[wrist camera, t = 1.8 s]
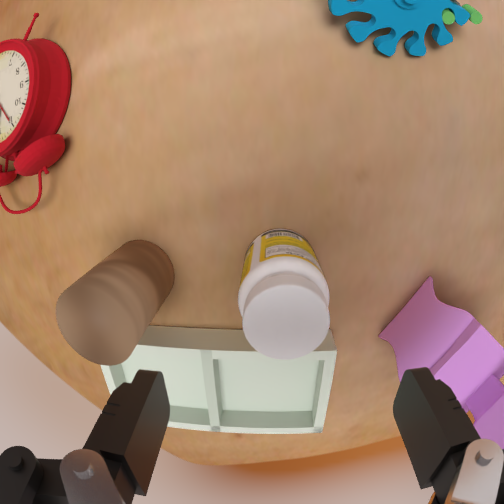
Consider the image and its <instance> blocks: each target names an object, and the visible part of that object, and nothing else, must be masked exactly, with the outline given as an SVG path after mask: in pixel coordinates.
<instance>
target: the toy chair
mask: <svg viewBox="0 0 504 504" xmlns="http://www.w3.org/2000/svg"><path fill="white" fill-rule="evenodd" d="M378 337H380V338H381V339H384V340H386V341H388V342H389V343H390V344H391V345H392V347H393V349H394V352H395V355H396V361H397V368H398V376H399V380H400V383H401V380H402V377H403V374H404V372H405V370H407V369H414V368H422V367H427V368H429V370H430V371H431V373H432V374H433V376H434V378H435V379H436V380H438V379H440V380H441V381H443V382H444V383H445V384H446V385H448V386H449V387H450V388H451V389H452V391H453V393H454V394H455V396H456V397H457V400H458V401H459V402H460V404H461V406H462V408H463V409H464V410H465V412H466V413H467V412H468V411H469V410H470V411H471V413H472V414H473V416H474V419H475V422H474V425H473V426H474V427H475V429H476V431H477V432H478V434H479V436H480V438H481V439H489V440H492V441H494V442H495V443H497V444H498V445H499V446H500V447H501V449H504V385H503V384H502V383H501V381H500V380H499V379H500V378H501V377H502V376H503V375H504V348H503V347H502V346H501V345H500V344H499V343H498V342H497V341H496V340H495V339H494V338H493V336H492V335H491V334H490V333H489V332H488V331H487V330H486V329H485V328H484V327H483V326H482V325H481V324H480V323H479V322H478V321H477V320H476V319H475V318H474V317H473V316H472V315H471V314H470V313H469V312H467V311H465V310H463V309H460V308H456V307H453V306H450V305H447V304H444V303H442V302H441V301H439V300H438V299H437V297H436V296H435V292H434V288H433V278H432V277H431V276H429V277H428V279H427V280H426V281H425V282H424V283H423V285H422V286H421V287H420V288H419V290H418V291H417V292H416V293H415V294H414V296H413V297H412V298H411V299H410V300H409V302H408V303H407V304H406V305H405V306H404V307H403V309H402V310H401V311H400V312H399V313H398V314H397V315H396V317H395V318H394V319H393V320H392V321H391V322H390V323H389V324H388V325H387V327H386V328H385V329H384V330H383V331H382V332H381V333H380V334H379V336H378Z"/></svg>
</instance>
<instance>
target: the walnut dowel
mask: <svg viewBox="0 0 504 504" xmlns="http://www.w3.org/2000/svg"><path fill="white" fill-rule="evenodd" d="M173 284H174V269H173V266H172V263H171V261H170V259H169V257H168V256H167V255H166V253H165V252H164V251H163V250H162V249H161V248H159V247H158V246H157V245H155V244H153V243H151V242H148V241H144V240H133V241H130V242H127V243H125V244H124V245H122V246H121V247H120V248H118V249H117V250H116V251H114V252H113V253H112V254H110V255H109V256H108V257H106V258H105V259H104V260H102V261H101V262H100V263H99V264H97V265H96V266H95V267H93V268H92V269H91V270H90V271H88V272H87V273H86V274H85V275H83V276H82V277H81V278H80V279H78V280H77V281H76V282H75V283H73V284H72V285H71V286H70V287H68V288H67V289H66V290H65V291H64V292H63V293H62V294H61V295H60V296H59V298H58V301H57V304H56V319H57V323H58V326H59V329H60V331H61V333H62V335H63V337H64V338H65V340H66V341H67V342H68V344H69V345H70V346H71V347H72V348H73V349H74V350H75V351H76V352H77V353H78V354H80V355H81V356H82V357H84V358H86V359H87V360H89V361H91V362H94V363H97V364H100V365H107V366H112V365H118V364H121V363H123V362H124V361H126V360H127V359H128V358H129V357H130V355H131V354H132V352H133V350H134V349H135V347H136V345H137V344H138V342H139V340H140V339H141V337H142V336H143V334H144V332H145V331H146V329H147V327H148V326H149V324H150V323H151V321H152V319H153V318H154V316H155V315H156V313H157V311H158V310H159V308H160V307H161V305H162V304H163V302H164V300H165V299H166V297H167V296H168V294H169V293H170V291H171V289H172V287H173Z"/></svg>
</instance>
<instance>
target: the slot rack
mask: <svg viewBox="0 0 504 504" xmlns="http://www.w3.org/2000/svg"><path fill="white" fill-rule="evenodd" d="M336 355H337V348H336V345H335V342H334V338H333V335H332V332H331V329H329V330H328V333H327V335H326V337H325V339H324V340H323V342H322V343H321V344H320V345H319V346H318V347H317V348H316V349H315V350H313V351H312V352H310V353H309V354H307V355H304V356H302V357H299V358H295V359H289V360H282V359H274V358H270V357H267V356H265V355H263V354H261V353H260V352H258V351H257V350H255V349H254V348H253V347H252V346H251V345H250V343H249V342H248V340H247V339H246V337H245V334H244V331H243V330H237V329H207V328H186V327H168V326H154V325H149V326H148V327H147V329H146V331H145V332H144V334H143V336H142V337H141V339H140V340H139V342H138V344H137V345H136V347H135V349H134V350H133V352H132V354H131V355H130V357H129V358H128V359H127V360H126V361H124V362H123V363H121V364H118V365H112V366H107V365H101V368H102V371H103V374H104V377H105V380H106V383H107V386H108V389H109V391H110V394H112V392H113V391H114V390H115V389H116V388H117V387H119V386H120V385H121V384H122V383H123V382H127V383H132V381H133V379H134V377H135V375H136V373H137V371H138V370H139V369H143V370H152V371H161V372H162V373H163V376H164V381H165V386H166V390H167V394H168V399H169V403H170V417H169V422H168V425H167V427H175V428H183V429H192V430H203V431H215V432H230V433H255V434H297V433H321V432H322V430H323V426H324V421H325V416H326V411H327V406H328V401H329V396H330V390H331V385H332V379H333V373H334V367H335V361H336Z"/></svg>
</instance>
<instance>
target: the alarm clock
mask: <svg viewBox="0 0 504 504" xmlns="http://www.w3.org/2000/svg"><path fill="white" fill-rule="evenodd" d="M33 16H34V18H33V20H32V22H31V25H30V27H29V28H28V30H27V32H26V34H25V37H24V39H23V40H22V39H10V40H5V41H2V42H0V156H1V157H3V158H5V159H6V163H5V172H4V173H3V171H2V165H0V187H1V186H5V185H7V184H10V183H11V182H13V181H14V180H15V178H16V176H17V174H20V175H22V176H32V175H35V174H38V179H39V193H38V198H37V200H36V202H35V203H34V204H33V205H32V206H30V207H29V208H27V209H24V210H20V211H13V210H10V209H9V208H8V207H6V205H5V204H4V202H3V200H2V197H1V195H0V202H1V204H2V206H3V208H4V209H5V210H6V211H7V212H9V213H12V214H21V213H25V212H27V211H30V210H32V209H33V208H34V207H35V206H36V205H37V204H38V202H39V201H40V198H41V194H42V178H41V173H42V171H44V172H45V174H48V173H49V171H48V170H47V168H49V167H50V166H52V165H53V164H54V163H55V162H56V161H58V159H59V158H60V157H61V156H62V154H63V152H64V150H65V142H64V138H63V136H62V135H59V134H56V132H57V130H58V128H59V126H60V124H61V122H62V120H63V118H64V115H65V112H66V109H67V105H68V102H69V96H70V90H71V72H70V66H69V62H68V59H67V57H66V55H65V53H64V52H63V50H62V49H61V48H60V47H59V46H58V45H57V44H56V43H54V42H52V41H50V40H46V39H32V40H29V41H28V40H27V38H28V36H29V34H30V32H31V29H32V26H33V24H34V22H35V19H36V18H37V17H38V16H39V13H35V14H34V15H33ZM8 160H11V161H14V163H13V165H14V167H15V169H16V170H14V171H10V172H7V170H8Z"/></svg>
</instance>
